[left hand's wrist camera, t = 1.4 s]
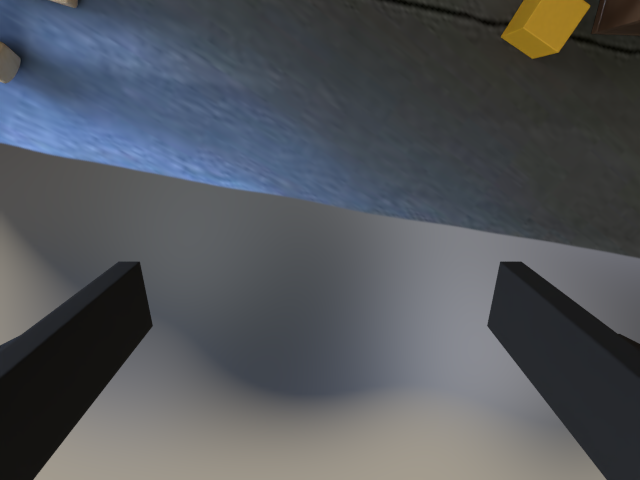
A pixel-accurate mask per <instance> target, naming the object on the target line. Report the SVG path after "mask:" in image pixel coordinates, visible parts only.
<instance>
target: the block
mask: <svg viewBox="0 0 640 480" xmlns="http://www.w3.org/2000/svg"><path fill="white" fill-rule="evenodd" d="M589 8H590V5H589V4H588V3H587V2H585V1H584V0H524V1H523V2H522V4H521V5H520V7H519V9H518V10H517V12H516V13H515V15H514V17H513V18H512V20H511V21H510V23H509V24H508V26H507V28H506V29H505V31H504V32H503V34H502V36H501V38H503V39H504V40H506V41H507V42H508V43H510V44H511V45H513V46H514V47H516V48H517V49H519V50H520V51H522V52H523V53H525V54H526V55H528V56H529V57H531V58H532V59H534V58H538V57H542V56H546V55H550V54H554V53H558V52H559V51H560V50H561V48H562V47H563V45H564V44H565V43H566V41H567V40H568V38H569V37H570V35H571V34H572V32H573V31H574V30H575V28H576V27H577V25H578V24H579V22H580V21H581V19H582V18H583V16H584V15H585V14H586V12H587V11H588V9H589Z"/></svg>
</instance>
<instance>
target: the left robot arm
mask: <svg viewBox="0 0 640 480" xmlns="http://www.w3.org/2000/svg"><path fill="white" fill-rule="evenodd" d="M152 326H153V325H152V320H151V315H150V310H149V305H148V300H147V295H146V290H145V285H144V280H143V276H142V270H141V266H140V262H118V263H116V264H115V265H114V266H112V267H111V268H110V269H108V270H107V271H106V272H104V273H103V274H102V275H100V276H99V277H98V278H96V279H95V280H94V281H92V282H91V283H90V284H88V285H87V286H86V287H84V288H83V289H82V290H80V291H79V292H78V293H76V294H75V295H74V296H72V297H71V298H70V299H68V300H67V301H66V302H64V303H63V304H62V305H60V306H59V307H58V308H56V309H55V310H54V311H52V312H51V313H50V314H48V315H47V316H46V317H44V318H43V319H42V320H40V321H39V322H38V323H36V324H35V325H34V326H32V327H31V328H30V329H28V330H27V331H26V332H24V333H23V334H22V335H20V336H18V337H16V338H14V339H12V340H10V341H8V342H6V343H4V344H2V345H0V480H33V479H34V478H35V477H36V475H37V474H38V473H39V472H40V470H41V469H42V468H43V466H44V465H45V464H46V462H47V461H48V460H49V459H50V457H51V456H52V455H53V454H54V452H55V451H56V450H57V448H58V447H59V446H60V445H61V443H62V442H63V441H64V439H65V438H66V437H67V436H68V434H69V433H70V432H71V430H72V429H73V428H74V427H75V425H76V424H77V423H78V421H79V420H80V419H81V418H82V416H83V415H84V414H85V412H86V411H87V410H88V408H89V407H90V406H91V405H92V403H93V402H94V401H95V399H96V398H97V397H98V396H99V394H100V393H101V392H102V391H103V389H104V388H105V387H106V385H107V384H108V383H109V381H110V380H111V379H112V378H113V376H114V375H115V374H116V372H117V371H118V370H119V369H120V367H121V366H122V365H123V363H124V362H125V361H126V360H127V358H128V357H129V356H130V354H131V353H132V352H133V351H134V349H135V348H136V347H137V345H138V344H139V343H140V342H141V340H142V339H143V338H144V336H145V335H146V334H147V333H148V331H149V330H150V329H151V327H152ZM487 326H488V327H489V329H490V330H491V331H492V333H493V334H494V335H495V336H496V338H497V339H498V340H499V342H500V343H501V344H502V345H503V347H504V348H505V349H506V351H507V352H508V353H509V354H510V356H511V357H512V358H513V360H514V361H515V362H516V363H517V365H518V366H519V367H520V369H521V370H522V371H523V372H524V374H525V375H526V376H527V378H528V379H529V380H530V381H531V383H532V384H533V385H534V387H535V388H536V389H537V391H538V392H539V393H540V394H541V396H542V397H543V398H544V400H545V401H546V402H547V403H548V405H549V406H550V407H551V408H552V410H553V411H554V412H555V414H556V415H557V416H558V418H559V419H560V420H561V421H562V423H563V424H564V425H565V426H566V428H567V429H568V430H569V432H570V433H571V434H572V436H573V437H574V438H575V439H576V441H577V442H578V443H579V445H580V446H581V447H582V448H583V450H584V451H585V452H586V454H587V455H588V456H589V457H590V459H591V460H592V461H593V463H594V464H595V465H596V466H597V468H598V469H599V470H600V471H601V473H602V474H603V475H604V477H605V478H606V479H607V480H640V344H639V343H637V342H635V341H633V340H631V339H629V338H627V337H625V336H623V335H621V334H617V333H616V332H614V331H613V330H612V329H610V328H609V327H608V326H606V325H605V324H604V323H602V322H601V321H600V320H598V319H597V318H596V317H594V316H593V315H592V314H590V313H589V312H588V311H586V310H585V309H584V308H582V307H581V306H580V305H578V304H577V303H576V302H574V301H573V300H572V299H570V298H569V297H568V296H566V295H565V294H564V293H562V292H561V291H560V290H558V289H557V288H556V287H554V286H553V285H552V284H550V283H549V282H548V281H546V280H545V279H544V278H542V277H541V276H540V275H538V274H537V273H536V272H534V271H533V270H532V269H530V268H529V267H528V266H526V265H525V264H524V263H522V262H500V266H499V270H498V276H497V280H496V285H495V290H494V295H493V301H492V305H491V310H490V315H489V320H488V325H487Z"/></svg>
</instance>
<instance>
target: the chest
mask: <svg viewBox="0 0 640 480" xmlns="http://www.w3.org/2000/svg"><path fill="white" fill-rule="evenodd" d="M591 34H606V35H635V36H640V0H600V3H599V6H598V10H597V14H596V17H595V21H594V25H593V29H592V32H591Z"/></svg>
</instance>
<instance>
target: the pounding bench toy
mask: <svg viewBox="0 0 640 480" xmlns="http://www.w3.org/2000/svg"><path fill="white" fill-rule="evenodd" d="M49 1H53V2H56V3H59V4H62V5H66V6H69V7H73V8H76V7H77V5H78V0H49ZM20 63H21V59H20V57H19V56H18V55H16V54H15V53H14V52H13V51H12V50H11V49H10V48H9V47H8V46H6V45H5V44H4V43H2V42H1V41H0V82H3V83H8V82H10V81H11V80H12V79H13V78H14V77H15V75H16V74H17V72H18V69H19V67H20Z"/></svg>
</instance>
